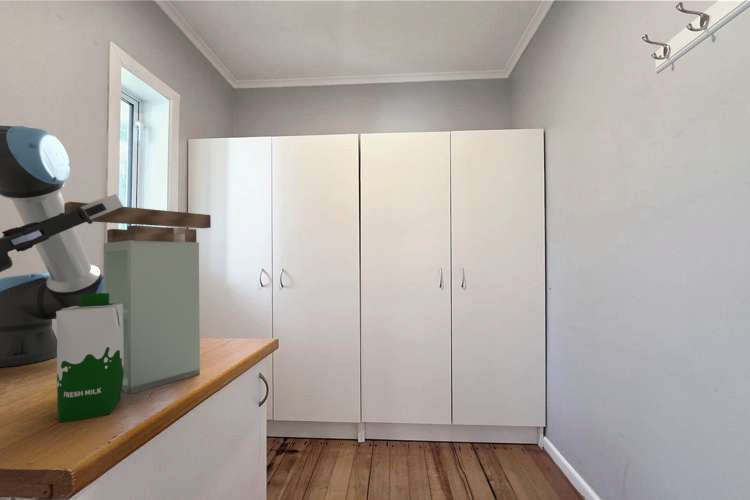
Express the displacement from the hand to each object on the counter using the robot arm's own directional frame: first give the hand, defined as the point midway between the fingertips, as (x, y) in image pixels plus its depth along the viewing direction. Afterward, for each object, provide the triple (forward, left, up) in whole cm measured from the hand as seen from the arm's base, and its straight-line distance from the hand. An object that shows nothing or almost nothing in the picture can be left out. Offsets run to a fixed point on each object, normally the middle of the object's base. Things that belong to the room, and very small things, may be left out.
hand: (114, 201), depth 75 cm
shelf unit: (-7, +3, -38) cm, 39 cm away
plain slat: (-6, +3, -4) cm, 8 cm away
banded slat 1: (-9, -2, -8) cm, 12 cm away
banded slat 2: (-5, +8, -8) cm, 12 cm away
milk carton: (+10, +6, -39) cm, 40 cm away
